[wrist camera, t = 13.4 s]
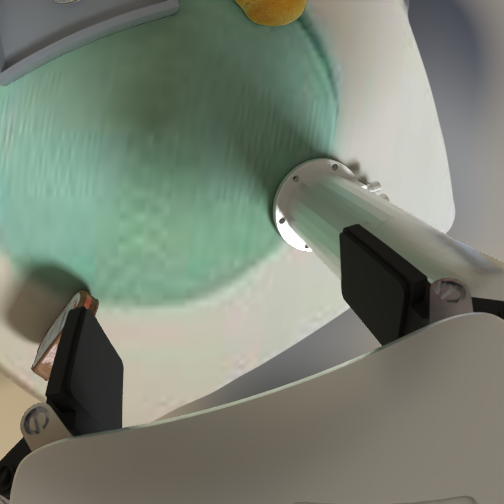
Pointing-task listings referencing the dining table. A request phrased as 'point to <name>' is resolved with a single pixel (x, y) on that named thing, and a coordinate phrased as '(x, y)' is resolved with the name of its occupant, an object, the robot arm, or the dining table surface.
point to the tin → (59, 334)
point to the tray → (64, 28)
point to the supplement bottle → (64, 1)
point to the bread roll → (272, 11)
